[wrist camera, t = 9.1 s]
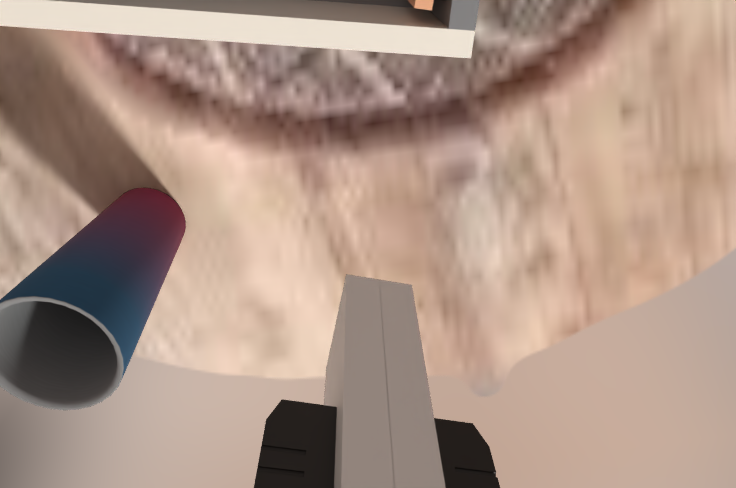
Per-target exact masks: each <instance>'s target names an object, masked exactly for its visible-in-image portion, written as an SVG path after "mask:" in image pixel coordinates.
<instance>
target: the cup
mask: <svg viewBox="0 0 736 488" xmlns="http://www.w3.org/2000/svg"><path fill="white" fill-rule="evenodd" d="M185 228H186V223H185V217H184V214H183V212H182V210H181V208H180V207H179V205H178V204H177V203H176V202H175V201H174V200H173V199H172V198H171V197H169V196H168V195H167V194H165V193H163V192H161V191H158V190H155V189H151V188H136V189H132V190H129V191H127V192H125V193H124V194H123V195H122V196H120V197H119V198H118V199H117V200H116V201H115V202H113V203H112V204H111V205H110V206H109V207H108V208H106V209H105V210H104V211H103V212H102V213H101V214H99V215H98V216H97V217H96V218H95V219H94V220H92V221H91V222H90V223H89V224H88V225H87V226H85V227H84V228H83V229H82V230H81V231H80V232H78V233H77V234H76V235H75V236H74V237H73V238H72V239H70V240H69V241H68V242H67V243H66V244H65V245H63V246H62V247H61V248H60V249H59V250H58V251H56V252H55V253H54V254H53V255H52V256H51V257H49V258H48V259H47V260H46V261H45V262H44V263H42V264H41V265H40V266H39V267H38V268H37V269H36V270H34V271H33V272H32V273H31V274H30V275H29V276H27V277H26V278H25V279H24V280H23V281H22V282H20V283H19V284H18V285H17V286H16V287H15V288H13V289H12V290H11V291H10V292H9V293H8V294H6V295H5V296H4V297H3V298H2V299H1V300H0V387H2V388H3V389H4V390H6V391H7V392H9V393H10V394H12V395H14V396H15V397H17V398H19V399H21V400H23V401H25V402H28V403H31V404H34V405H36V406H40V407H44V408H49V409H58V410H76V409H82V408H86V407H91V406H93V405H95V404H97V403H100V402H102V401H103V400H105V399H106V398H108V397H109V396H111V394H112V393H113V392H114V391H115V390H116V389H117V388H118V386H119V384H120V382H121V380H122V377H123V375H124V373H125V371H126V368H127V366H128V364H129V361H130V359H131V357H132V354H133V352H134V350H135V347H136V345H137V343H138V340H139V338H140V336H141V333H142V331H143V329H144V326H145V324H146V322H147V319H148V317H149V315H150V312H151V310H152V308H153V305H154V303H155V301H156V298H157V296H158V294H159V291H160V289H161V287H162V284H163V282H164V280H165V277H166V275H167V273H168V271H169V268H170V266H171V264H172V261H173V259H174V257H175V254H176V252H177V250H178V247H179V245H180V243H181V240H182V238H183V236H184V233H185Z"/></svg>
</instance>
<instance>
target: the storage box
mask: <svg viewBox="0 0 736 488" xmlns="http://www.w3.org/2000/svg"><path fill="white" fill-rule="evenodd" d="M478 7H479V0H434V1H433V7H432V10H425V9H417V8H414V7H413V6H412V5H411V4H410V2H409V1H408V0H0V26H10V27H25V28H39V29H54V30H68V31H83V32H97V33H112V34H126V35H141V36H155V37H170V38H184V39H199V40H213V41H228V42H242V43H257V44H271V45H286V46H300V47H315V48H329V49H344V50H358V51H373V52H387V53H402V54H416V55H431V56H445V57H460V58H471V54H472V47H473V40H474V34H475V27H476V20H477V13H478Z"/></svg>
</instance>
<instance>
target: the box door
mask: <svg viewBox="0 0 736 488" xmlns="http://www.w3.org/2000/svg"><path fill="white" fill-rule="evenodd" d="M408 1H409V2H410V4H411V5H412V6H413V7H414V8H417V9H425V10H432V7H433V1H434V0H408Z"/></svg>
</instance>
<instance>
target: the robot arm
mask: <svg viewBox="0 0 736 488" xmlns="http://www.w3.org/2000/svg"><path fill="white" fill-rule="evenodd" d="M254 488H500V485H499V482H498V478H497V477H496V470H495V467H494V463H493V459H492V455H491V452H490V448H489V446H488V444H487V443H486V442H485V440H484V439H483V437H482V436H481V435H480V433H479V432H478V430H477V429H476V428H475V426H474V425H473V423H465V422H457V421H450V420H443V419H436V418H434V415H433V409H432V404H431V397H430V391H429V385H428V379H427V373H426V367H425V361H424V355H423V349H422V343H421V337H420V331H419V325H418V319H417V313H416V307H415V301H414V295H413V289H412V285H410V284H403V283H397V282H391V281H385V280H378V279H372V278H366V277H360V276H354V275H347V274H346V278H345V283H344V287H343V292H342V297H341V301H340V306H339V311H338V315H337V320H336V325H335V330H334V334H333V339H332V344H331V348H330V353H329V358H328V362H327V367H326V379H325V394H324V405H319V404H311V403H304V402H296V401H289V400H281V402H280V403H279V404H278V405H277V407H276V408H275V409H274V410H273V412H272V413H271V414H270V416H269V417H268V418H267V419H266V424H265V430H264V435H263V441H262V446H261V452H260V457H259V463H258V469H257V474H256V479H255V485H254Z"/></svg>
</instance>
